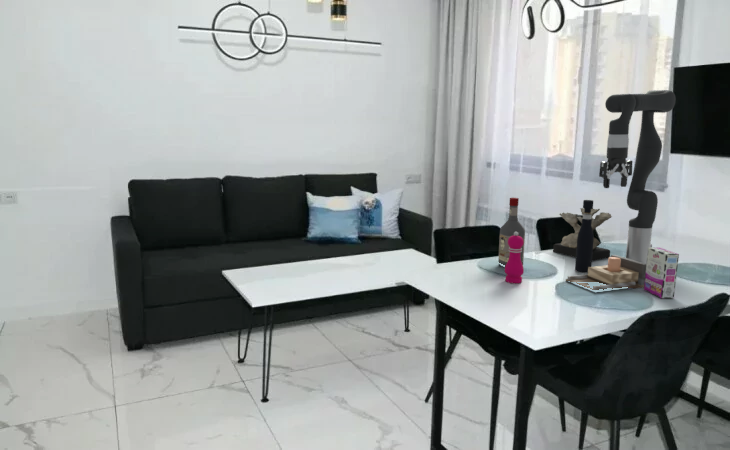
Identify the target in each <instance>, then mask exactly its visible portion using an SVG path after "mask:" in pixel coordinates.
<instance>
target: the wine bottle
mask: <svg viewBox="0 0 730 450" xmlns="http://www.w3.org/2000/svg"><path fill="white" fill-rule="evenodd" d="M582 208H584V209H585V210H584V213H586V214H583V216H582V218H583V219H582V223H581V225H580V227H581V228H580V230H579V233H578V237H577V249H576V257H575V265H574V271H576V272H578V273H585V274H588V267H593V266H592V265H593V261H592V254H593V242H594V238H595V237H594V236H595V235H594V230H592V226H591V224H592V219H591V209H594V200H592V199H584V200H583V202H582Z"/></svg>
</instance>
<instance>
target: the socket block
mask: <svg viewBox="0 0 730 450" xmlns="http://www.w3.org/2000/svg"><path fill="white" fill-rule="evenodd" d="M607 269H608V264H606V265H597V266H592V267H588V273H587V274H588V277H587V278H590V279H592V280H595V281H598V282H601V283H603V284H606V285H609V284H618V283H626V282H635V284H637V283H638V275H639V272H635V271H632V270H629V269H626V268H623V267H620V272H610V271H607Z"/></svg>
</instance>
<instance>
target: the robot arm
mask: <svg viewBox="0 0 730 450" xmlns="http://www.w3.org/2000/svg"><path fill="white" fill-rule="evenodd" d="M676 101H677V100H676V95H675V92H674V91H671V90H667V89H657V90H655V89H654V90H653V89H652V90H648V91H647V92H646V93H616V94H615V93H614V94H611V95H609V96H608V97H606V100H605V108H606V110H607V112H609V113H613V114H615V113H617V114H618V113H619V114H620V115H619V117H617V118H614V119H611V120H610V121H609V124H608V136H607V142H606V143H607V145H606V159H607V161H601V162H600V165H599V175H598V176H599V178H602V179H603V183H602V185H603V186H602V187H603V188H604V189H609V188H610V178H611V176H612V175H613V174H614V173H619V174H620V187H623V188H626V187H627V186H628V178H629V177H630V176H632V177H631V182H630V185H629V188H628V191H627V197H626V203H627V207H628V208H629V209H631V210H633V211H638V213H637V216H636V217H633V218H630V219H629V221H628V228H627V229H628V230H627V240H626V249H625V258H628V259H631V260H635V261H638V262H641V263H645V264H647V255H648V248H653V244H651V243H652V234H653V233H652V232H653V225H654V223H655V220H656V217H657V209H658V200H659V199H658V195H657V194H656V192H655V191H652V190H646V184H647V180H648V178H649V177H650V175H651V173H652V172H653V171H654V169H655V168H656V166H657V165H658V164H659V162H660V159H661V153H662V148H663V143H662V142H663V141H662V139H661V138H660V135H659V134H658V131H657V129H656V127H655V123H654V119H655V118H654V117H655V116H654V115H655V114H656V113H657V114H658V113H660V114H661V113H668V112H669V113H670V112H671V111H672V110H673V109H674V107H675V105H676ZM634 112H636V113H637V112H641V124H640V130H639V131H640V132H639V136H638V137H639V139H638V142H637V143H638V144H637V149H636V154H635V162H634V168H633V160H630V159H629V160H627V158H628V157H629V156H628V154H629V153H628V152H629V140H630V139H629V131H630V122H631V119H632V116H633V113H634Z"/></svg>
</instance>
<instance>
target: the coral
mask: <svg viewBox="0 0 730 450" xmlns="http://www.w3.org/2000/svg"><path fill="white" fill-rule="evenodd" d="M579 209H580V212H581V215H582V216H578V214H577V213H571V212H560V213H559V214H558V215H559V216H560V217H562V219H564V221H565V222H567V224H569V225H570V226H571V227H573V229H574V233H573V232H572V233H570V234H568V235H564V236H563V237H562V239H561V240H562V241H561V242H560V243H555V244H553V247H552V248H553V249H552V250H553V251H552V252H553V253H557V254H561V255H565V256H569V257H573V258H576V249H577V237H578V233H579V230H580V228H581V225H579V224H578V221H579V222H580V223H581V224H582V219H583V214H586V213H584V210H585V209H584V208H583V207H580V208H579ZM599 211H601V210H600V208H597V209H596V208H593V209H591V219H592V224H591V226H592V230H593V231H594V230H595V229H596V228H598V227H601V225H602V224H604V223H605V222H606V221H608V220H609V219H611V218H612V217H613V216H612V214H611V213H610V212H600V213H599V214H597V213H598V212H599ZM595 214H596V215H595ZM594 215H595V217H594V218H593V216H594ZM601 243H602V242H600V241H599V240H598V239H597V238H596V237H594V242H593V254H592V262H593V261H599V260H604V259H608V258H609V257H611V250H610V249H607V248H603V247H599V246H600V244H601Z"/></svg>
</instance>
